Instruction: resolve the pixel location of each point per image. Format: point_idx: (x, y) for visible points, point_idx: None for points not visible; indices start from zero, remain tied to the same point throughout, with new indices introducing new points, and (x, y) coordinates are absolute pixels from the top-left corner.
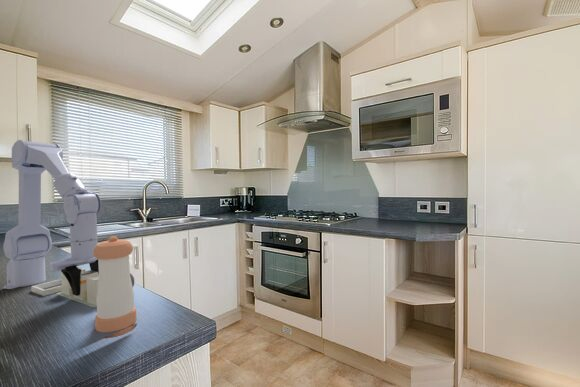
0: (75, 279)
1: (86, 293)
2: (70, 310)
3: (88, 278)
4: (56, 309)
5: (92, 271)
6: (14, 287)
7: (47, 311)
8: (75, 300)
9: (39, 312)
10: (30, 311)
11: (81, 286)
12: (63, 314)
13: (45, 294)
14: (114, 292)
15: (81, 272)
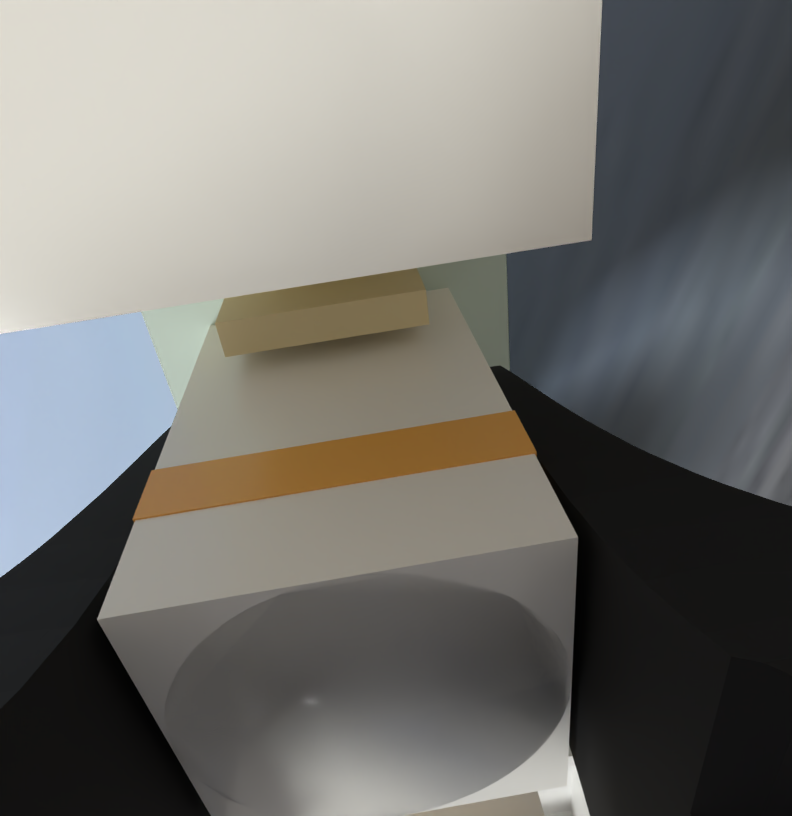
0: (686, 488)
1: (413, 279)
2: (600, 174)
3: (596, 36)
4: (651, 356)
5: (213, 740)
6: None
7: (719, 370)
8: (505, 340)
9: (761, 404)
10: (770, 491)
11: (496, 390)
12: (712, 91)
13: None
14: None
15: (415, 797)
